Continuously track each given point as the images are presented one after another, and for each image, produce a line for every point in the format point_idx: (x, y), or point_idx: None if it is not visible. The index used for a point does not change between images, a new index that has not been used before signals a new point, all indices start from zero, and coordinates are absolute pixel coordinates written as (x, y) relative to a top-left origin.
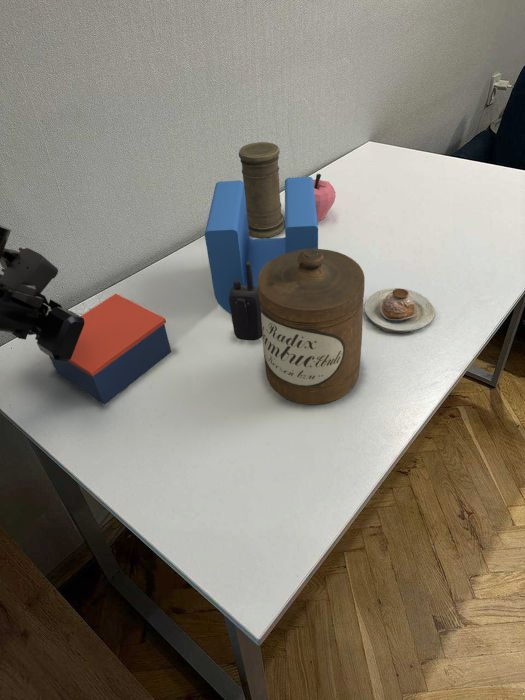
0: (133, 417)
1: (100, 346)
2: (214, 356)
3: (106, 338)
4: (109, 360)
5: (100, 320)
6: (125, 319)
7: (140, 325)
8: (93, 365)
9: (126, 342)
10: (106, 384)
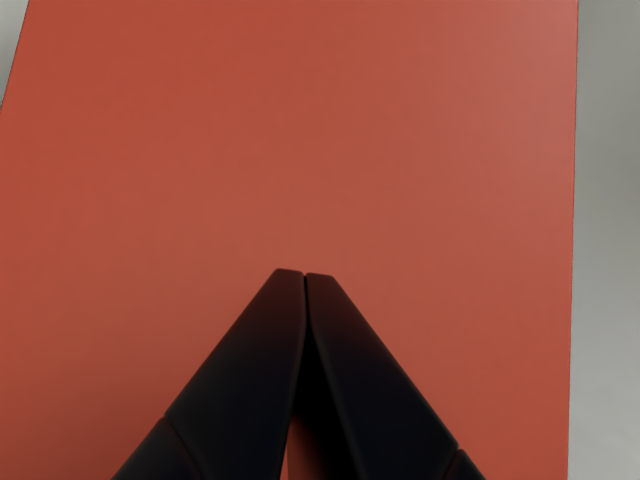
0: (598, 455)
1: (419, 299)
2: (631, 23)
3: (395, 215)
4: (565, 373)
5: (205, 78)
6: (364, 6)
7: (497, 20)
8: (526, 477)
9: (542, 188)
10: None
